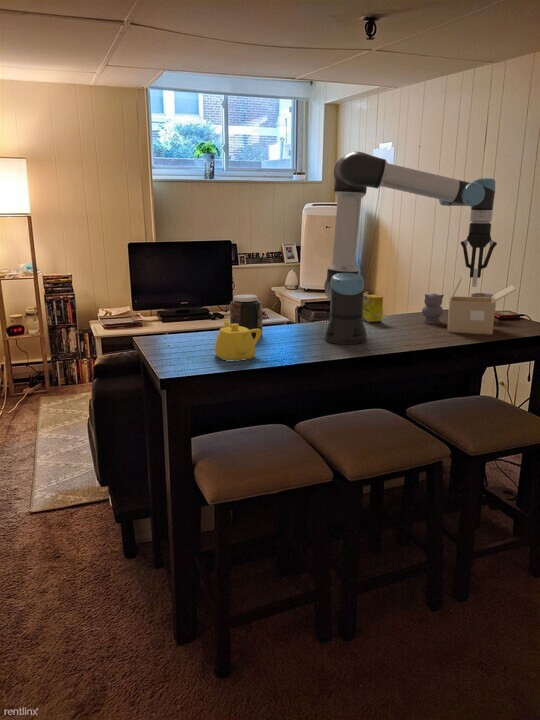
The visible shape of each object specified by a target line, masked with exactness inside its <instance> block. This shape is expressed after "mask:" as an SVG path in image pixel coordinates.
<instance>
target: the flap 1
mask: <svg viewBox="0 0 540 720" xmlns="http://www.w3.org/2000/svg"><path fill="white" fill-rule="evenodd" d="M457 277H458V278H457V279H456V282H455V283H454V286H453V287H452V290H451V292H450V294H449V299H450V298H451V300H452V298H453V296H455V294H456V292H457V289H458V288H459V286H460V283H461V282H462V277H461V275H459V276H457Z"/></svg>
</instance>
